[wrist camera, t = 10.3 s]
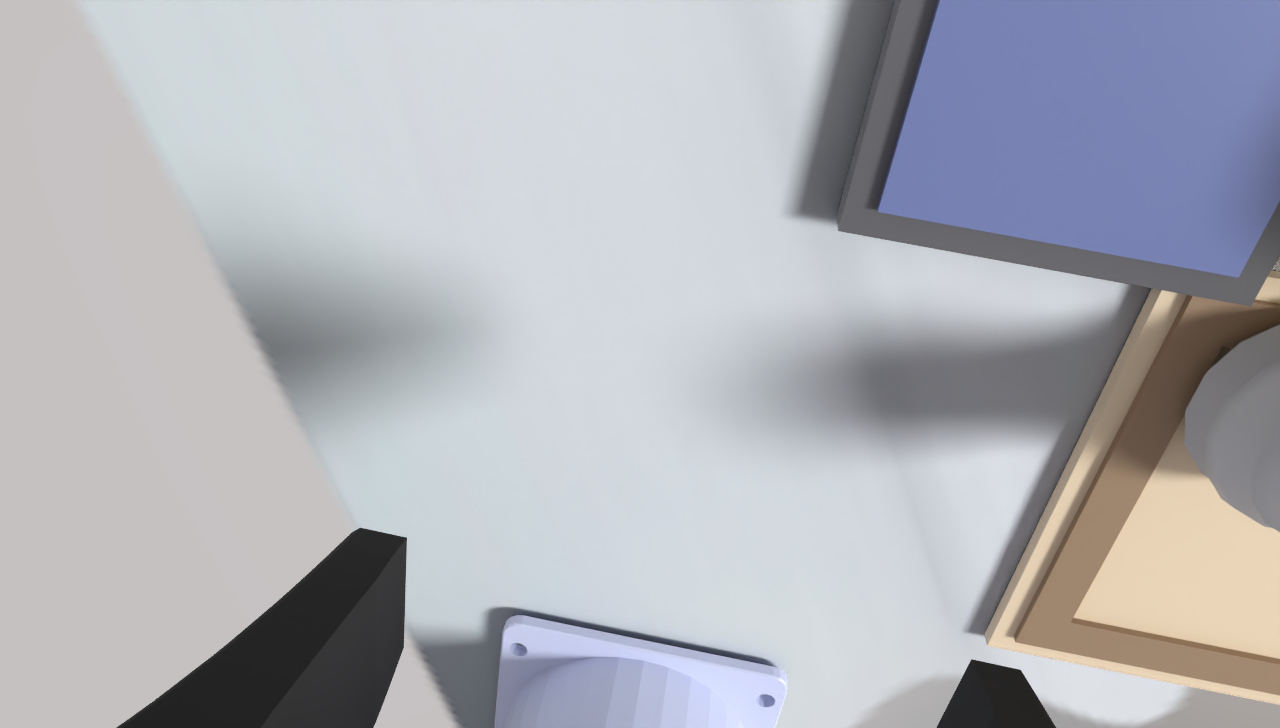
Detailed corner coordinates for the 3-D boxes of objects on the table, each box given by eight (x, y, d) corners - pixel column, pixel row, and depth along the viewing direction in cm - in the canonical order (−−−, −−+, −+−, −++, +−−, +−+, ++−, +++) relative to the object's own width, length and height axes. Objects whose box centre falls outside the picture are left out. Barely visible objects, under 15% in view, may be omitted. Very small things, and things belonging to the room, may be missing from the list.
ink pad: (1234, 288, 19) (1255, 311, 18) (836, 215, 19) (838, 235, 18) (1479, -170, 14) (1522, -167, 14) (961, -252, 15) (972, -255, 14)
